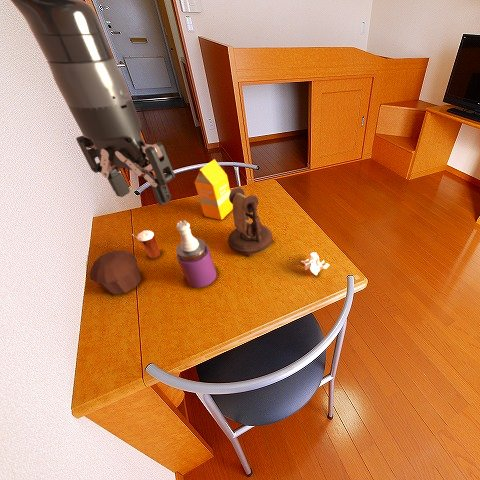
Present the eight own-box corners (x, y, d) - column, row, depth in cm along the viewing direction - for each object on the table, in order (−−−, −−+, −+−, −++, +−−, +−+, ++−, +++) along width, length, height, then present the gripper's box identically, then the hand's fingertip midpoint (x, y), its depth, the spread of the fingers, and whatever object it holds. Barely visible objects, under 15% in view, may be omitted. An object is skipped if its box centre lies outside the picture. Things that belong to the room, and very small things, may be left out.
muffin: (109, 271, 83) (92, 246, 76) (149, 265, 85) (136, 240, 79) (95, 302, 74) (74, 277, 68) (140, 295, 76) (124, 270, 70)
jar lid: (196, 264, 72) (194, 259, 71) (171, 258, 74) (169, 253, 72) (212, 246, 78) (210, 240, 76) (189, 240, 79) (187, 235, 78)
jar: (206, 290, 78) (195, 262, 71) (180, 284, 80) (167, 255, 72) (222, 270, 85) (213, 241, 77) (198, 264, 86) (187, 236, 79)
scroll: (220, 243, 94) (206, 192, 81) (254, 224, 103) (246, 175, 90) (247, 264, 87) (237, 212, 74) (281, 241, 95) (277, 191, 83)
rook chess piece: (183, 254, 72) (173, 230, 67) (180, 244, 75) (171, 221, 70) (201, 249, 74) (192, 225, 69) (197, 239, 77) (189, 216, 71)
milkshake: (144, 253, 89) (131, 228, 83) (162, 248, 91) (151, 224, 84) (144, 262, 86) (130, 237, 80) (162, 257, 88) (151, 233, 81)
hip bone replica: (331, 261, 83) (314, 269, 80) (329, 271, 86) (312, 280, 82) (315, 247, 88) (298, 254, 84) (314, 257, 91) (297, 264, 87)
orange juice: (204, 216, 105) (189, 167, 92) (217, 204, 112) (205, 157, 99) (222, 220, 104) (209, 171, 91) (234, 207, 110) (224, 160, 97)
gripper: (31, 99, 36) (93, 203, 47) (120, 110, 34) (164, 218, 44) (82, 87, 42) (127, 182, 52) (162, 96, 39) (193, 194, 50)
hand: (144, 198), depth 48 cm, fingers open, 8 cm apart
